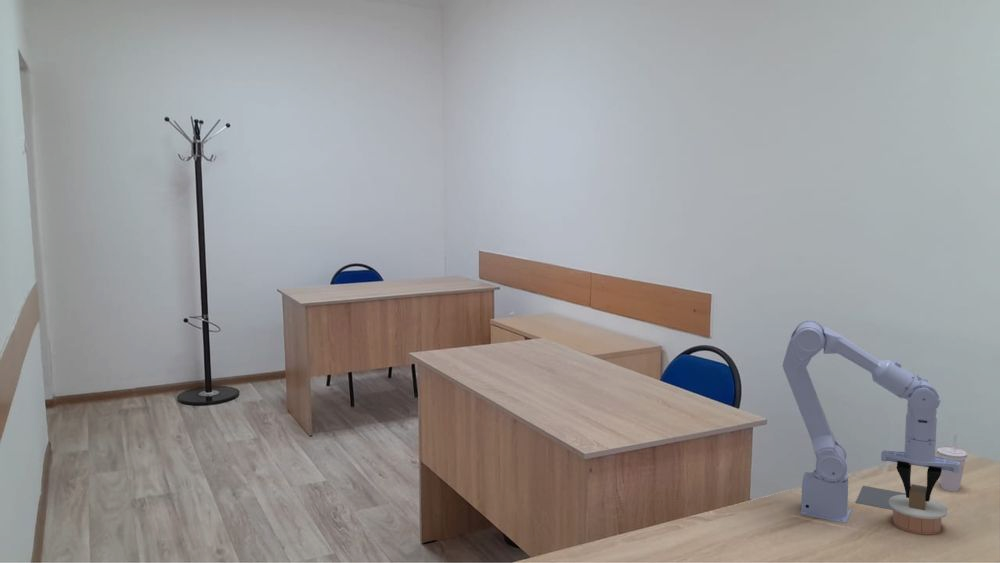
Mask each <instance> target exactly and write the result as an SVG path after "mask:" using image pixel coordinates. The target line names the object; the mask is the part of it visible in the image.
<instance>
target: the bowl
mask: <svg viewBox="0 0 1000 563" xmlns="http://www.w3.org/2000/svg"><path fill="white" fill-rule="evenodd" d="M942 520H943V518H939V519H922V518H915V517H911V516H907V515H904V514H901V513H899V512H897V511H895V510H892V522H893V524H894V525H895V526H896V527H898V528H899V529H901V530H904V531H906V532H909V533H913V534H918V535H935V534H938V533H941V530H942V523H943V522H942Z"/></svg>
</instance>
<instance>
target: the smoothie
mask: <svg viewBox="0 0 1000 563" xmlns="http://www.w3.org/2000/svg"><path fill="white" fill-rule="evenodd" d="M957 436H958V435H957V434H955V433H954V434H953V446H952V447H948V446H946V447H939V448H938V447H937V449H936V451H935V455H937V457H940V458H944V459H948V460H952V461H958V462H960V463H959V473H954V472H953V471H948V470H942V471H941V475H940V477H939V478H940V487H941V489H942V490H944V491H948V492H959V491H960V489H961V488H960V487H961V482H962V479H963V475H964V474H963V473H964V468H965V463H966V459H968V453H967V451H965V450H963V449H959V448H957Z"/></svg>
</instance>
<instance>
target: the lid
mask: <svg viewBox="0 0 1000 563" xmlns="http://www.w3.org/2000/svg"><path fill="white" fill-rule="evenodd" d="M926 490H927V485H926V486H924V485H918V484H914V483H911V488H910V491H909V498H906V495H896V496H893V497H891V498H890V499H889V506H890V507H891V508H892V509H893V510H895V511H897V512H899V513H901V514H904V515H907V516H911V517H915V518H922V519H939V518H942V519H943V518H945V517H946V516H947V515H948V507H947V506H946V505H944V504H943V503H942V502H940V501H938V500H935V499H933V498H930V500H929V502H928V501H926ZM893 510H892V511H893Z"/></svg>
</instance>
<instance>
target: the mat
mask: <svg viewBox="0 0 1000 563" xmlns="http://www.w3.org/2000/svg"><path fill="white" fill-rule="evenodd" d="M896 495H906V492H900V491H895V490H890V489H883V488H879V487H878V488H877V487H874V486H873V487H872V486H868V485H862V487H861V489H860V492H859V494H858V496H857V498H856V501H855V503H856V504H859V505H865V506H870V507H875V508H879V509H881V508H882V509H885V510H891V511H893V509H892V508H891V507H890V506H889V499H890V498H891V497H893V496H896Z"/></svg>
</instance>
